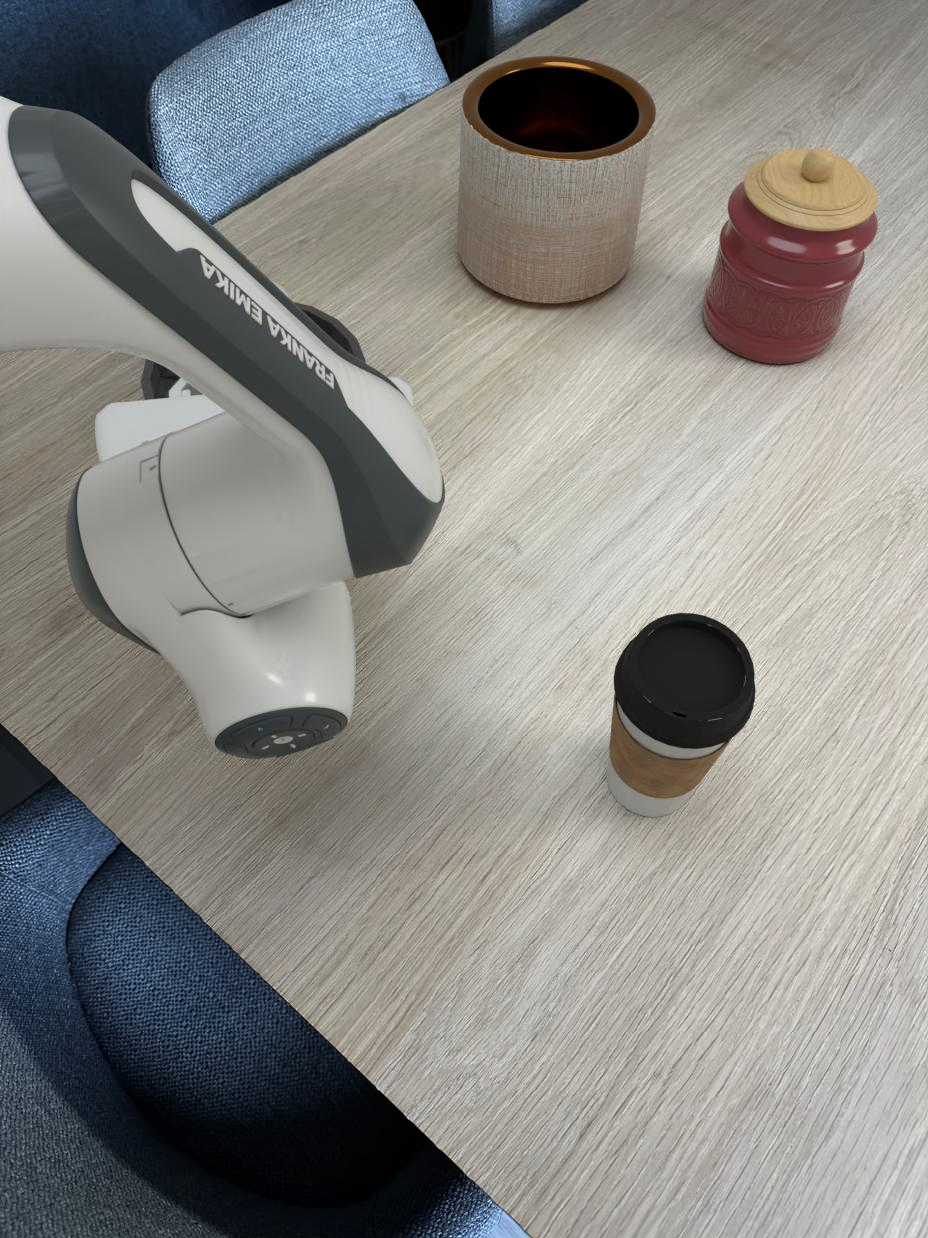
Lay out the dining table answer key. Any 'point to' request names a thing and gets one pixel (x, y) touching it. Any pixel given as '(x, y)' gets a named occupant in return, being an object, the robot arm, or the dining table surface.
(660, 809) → the coffee cup
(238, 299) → the robot arm
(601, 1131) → the dining table surface
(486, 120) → the planter
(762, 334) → the kitchen canister
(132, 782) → the dining table surface
